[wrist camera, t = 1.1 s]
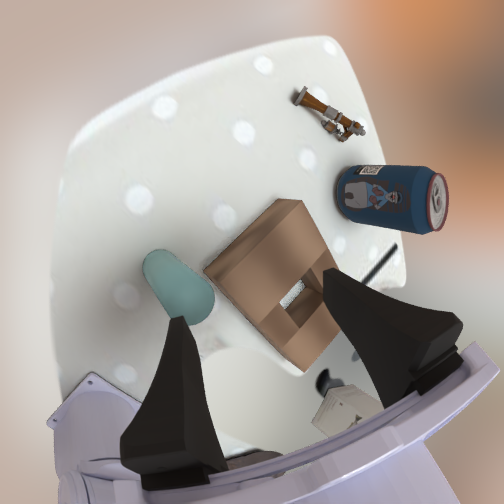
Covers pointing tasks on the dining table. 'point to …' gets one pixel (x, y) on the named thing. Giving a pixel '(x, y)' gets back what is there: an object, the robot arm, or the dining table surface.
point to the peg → (178, 287)
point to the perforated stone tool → (254, 460)
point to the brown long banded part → (331, 116)
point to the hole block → (280, 280)
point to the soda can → (394, 197)
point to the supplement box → (345, 409)
